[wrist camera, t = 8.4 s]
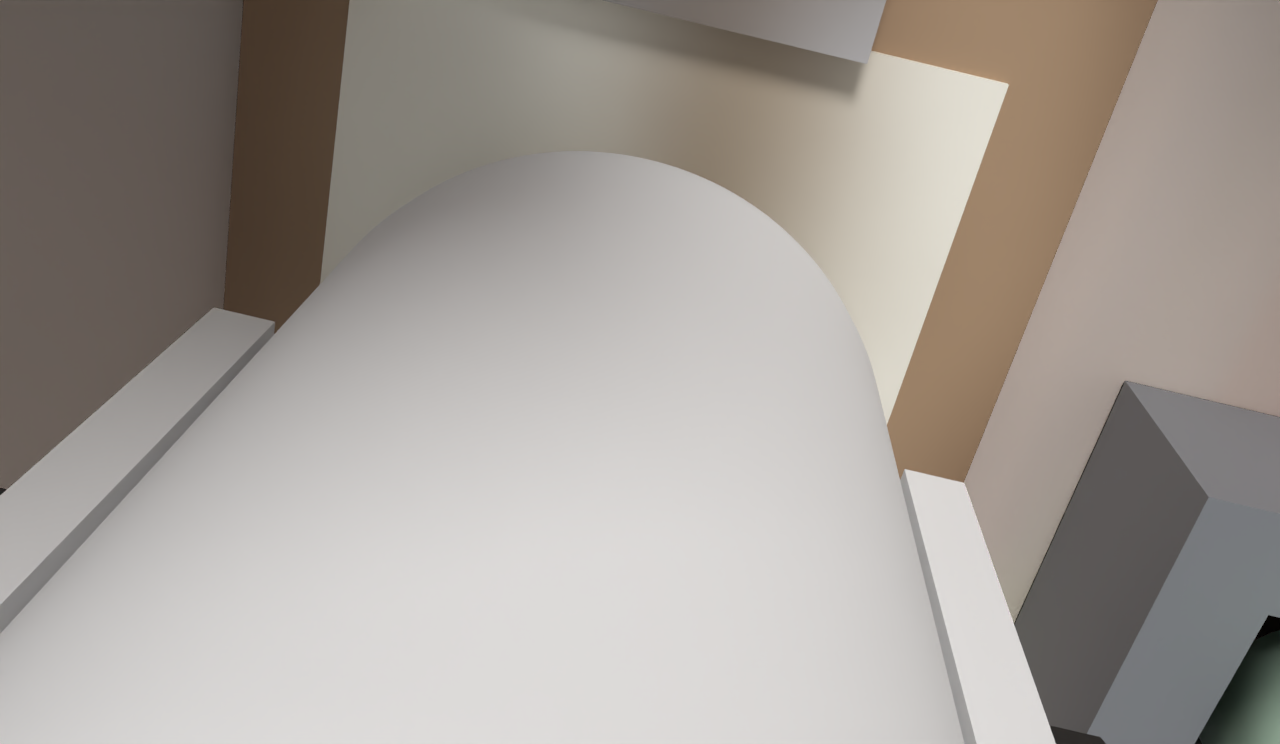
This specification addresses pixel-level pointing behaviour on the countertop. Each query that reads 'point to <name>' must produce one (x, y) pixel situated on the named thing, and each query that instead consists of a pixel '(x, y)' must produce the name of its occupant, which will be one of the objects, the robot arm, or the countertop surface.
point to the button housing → (1157, 570)
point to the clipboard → (712, 147)
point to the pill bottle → (516, 501)
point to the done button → (1250, 699)
